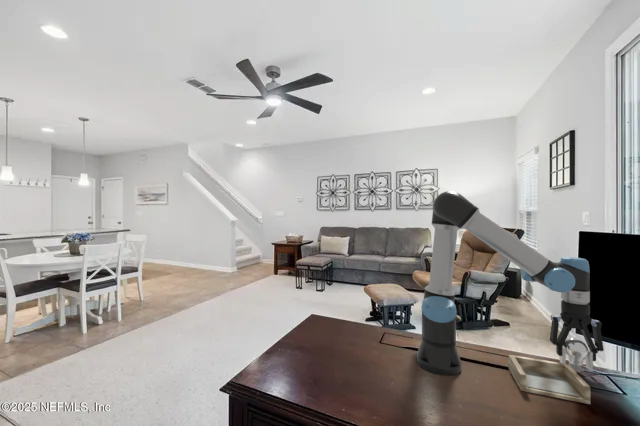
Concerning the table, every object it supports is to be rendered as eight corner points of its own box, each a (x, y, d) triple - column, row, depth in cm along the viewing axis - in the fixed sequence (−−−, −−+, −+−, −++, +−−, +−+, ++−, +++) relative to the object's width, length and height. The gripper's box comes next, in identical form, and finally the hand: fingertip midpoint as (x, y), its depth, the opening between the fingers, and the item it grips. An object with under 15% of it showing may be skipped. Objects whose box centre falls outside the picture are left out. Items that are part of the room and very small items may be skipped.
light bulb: (594, 379, 93) (593, 343, 94) (570, 376, 95) (570, 341, 95) (579, 368, 100) (579, 334, 101) (557, 366, 102) (557, 333, 102)
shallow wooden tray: (520, 390, 86) (520, 374, 87) (508, 368, 99) (508, 354, 100) (590, 404, 80) (590, 386, 80) (567, 379, 93) (567, 364, 93)
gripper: (545, 300, 98) (545, 366, 97) (618, 308, 91) (619, 379, 90) (537, 295, 105) (537, 356, 104) (605, 302, 98) (606, 367, 97)
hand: (575, 367), depth 97 cm, fingers closed on light bulb, 7 cm apart
